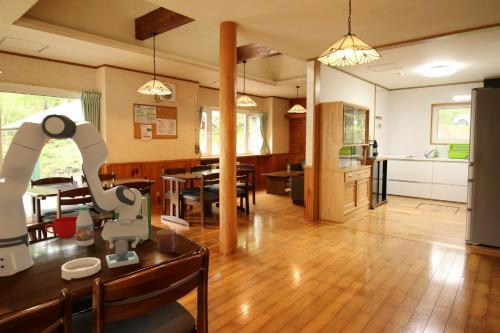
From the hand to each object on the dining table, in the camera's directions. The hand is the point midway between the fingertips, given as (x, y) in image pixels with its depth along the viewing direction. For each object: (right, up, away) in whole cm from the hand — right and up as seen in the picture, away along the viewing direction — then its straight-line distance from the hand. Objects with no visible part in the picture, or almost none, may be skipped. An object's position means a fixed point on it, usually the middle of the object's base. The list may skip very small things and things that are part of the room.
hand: (122, 247), depth 140 cm
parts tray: (0, -7, 0) cm, 7 cm away
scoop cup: (0, -6, 0) cm, 6 cm away
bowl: (-13, -8, -10) cm, 18 cm away
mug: (+15, -6, +14) cm, 21 cm away
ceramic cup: (-47, -4, +35) cm, 58 cm away
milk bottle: (-29, -5, +24) cm, 38 cm away
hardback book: (-7, -4, +32) cm, 33 cm away
